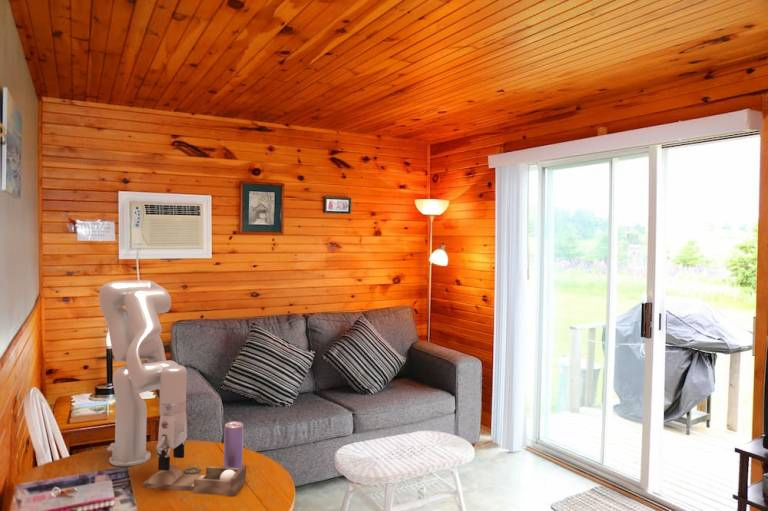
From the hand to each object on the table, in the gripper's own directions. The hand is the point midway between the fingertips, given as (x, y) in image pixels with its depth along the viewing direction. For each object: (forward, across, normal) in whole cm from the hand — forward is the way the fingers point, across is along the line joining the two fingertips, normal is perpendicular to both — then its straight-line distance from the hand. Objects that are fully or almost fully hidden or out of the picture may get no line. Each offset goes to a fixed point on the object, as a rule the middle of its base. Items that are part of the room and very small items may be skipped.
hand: (171, 463), depth 172 cm
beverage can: (+6, +12, -15) cm, 20 cm away
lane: (+10, 0, -7) cm, 13 cm away
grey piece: (+6, +10, -2) cm, 12 cm away
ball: (+4, 0, -15) cm, 16 cm away
